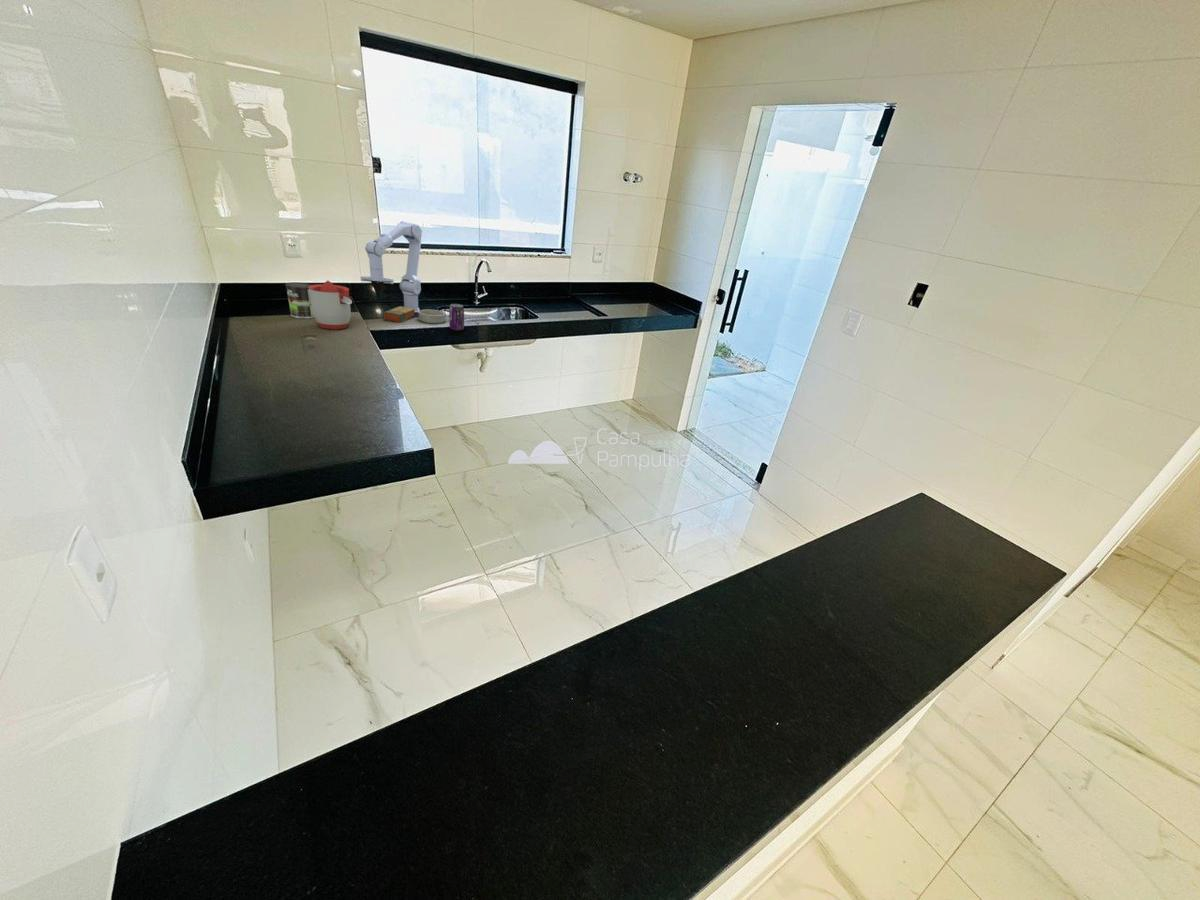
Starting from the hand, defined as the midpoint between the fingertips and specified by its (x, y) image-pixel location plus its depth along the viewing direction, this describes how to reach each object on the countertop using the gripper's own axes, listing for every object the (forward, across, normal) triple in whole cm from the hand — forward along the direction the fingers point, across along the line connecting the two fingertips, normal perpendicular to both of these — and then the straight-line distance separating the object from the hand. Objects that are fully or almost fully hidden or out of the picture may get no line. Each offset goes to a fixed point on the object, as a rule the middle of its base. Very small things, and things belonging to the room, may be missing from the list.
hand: (378, 297), depth 231 cm
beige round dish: (+9, +25, -1) cm, 27 cm away
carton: (+10, +9, -1) cm, 13 cm away
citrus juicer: (+10, -16, -25) cm, 31 cm away
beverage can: (+10, +37, -16) cm, 41 cm away
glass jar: (+10, -32, -9) cm, 35 cm away
